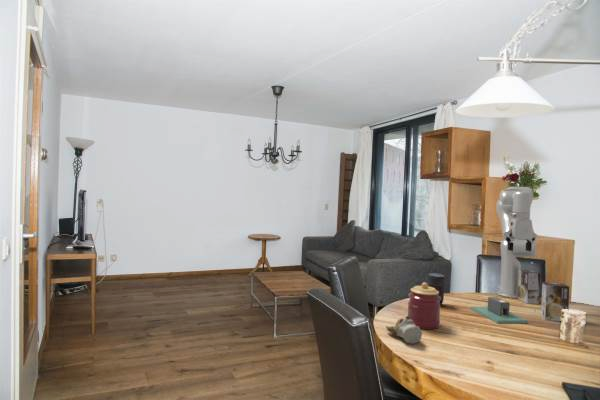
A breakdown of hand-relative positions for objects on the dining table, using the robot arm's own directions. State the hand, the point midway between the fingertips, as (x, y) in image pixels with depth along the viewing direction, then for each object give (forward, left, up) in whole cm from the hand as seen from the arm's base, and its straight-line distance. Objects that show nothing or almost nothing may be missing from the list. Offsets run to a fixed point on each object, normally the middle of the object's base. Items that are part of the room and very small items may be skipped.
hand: (519, 250), depth 190 cm
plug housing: (+13, -19, -27) cm, 35 cm away
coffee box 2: (+18, +5, -28) cm, 34 cm away
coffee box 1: (-10, +14, -28) cm, 33 cm away
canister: (+24, -60, -28) cm, 71 cm away
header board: (+13, -19, -28) cm, 36 cm away
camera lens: (-4, -41, -28) cm, 50 cm away
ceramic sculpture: (+39, -74, -29) cm, 88 cm away
